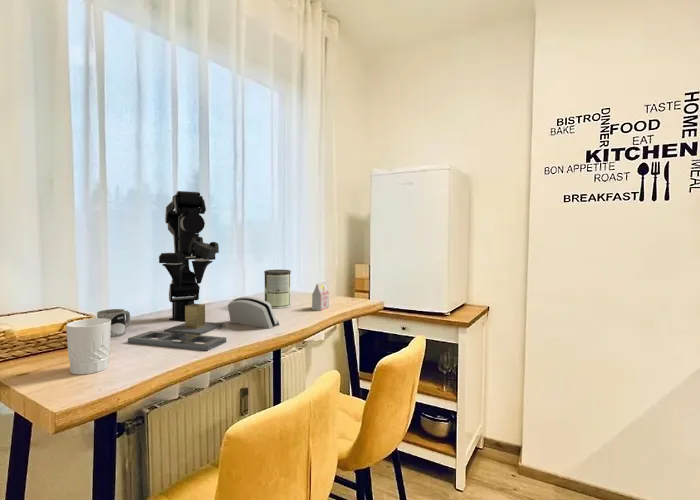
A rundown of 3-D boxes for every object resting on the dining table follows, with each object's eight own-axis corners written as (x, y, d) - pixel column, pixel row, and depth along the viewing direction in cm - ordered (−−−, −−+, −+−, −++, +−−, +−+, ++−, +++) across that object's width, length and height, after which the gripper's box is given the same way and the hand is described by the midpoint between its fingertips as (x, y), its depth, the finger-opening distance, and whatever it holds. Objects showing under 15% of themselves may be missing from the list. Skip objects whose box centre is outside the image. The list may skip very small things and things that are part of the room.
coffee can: (259, 305, 154) (259, 270, 153) (281, 302, 161) (281, 268, 160) (273, 309, 146) (273, 272, 146) (295, 306, 154) (296, 270, 153)
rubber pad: (164, 331, 113) (164, 329, 113) (191, 322, 124) (191, 320, 124) (199, 335, 110) (199, 332, 110) (224, 325, 121) (224, 323, 121)
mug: (112, 338, 106) (111, 314, 105) (91, 337, 107) (91, 313, 107) (139, 329, 115) (138, 307, 115) (119, 328, 117) (119, 306, 116)
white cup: (81, 363, 86) (80, 318, 85) (119, 362, 86) (118, 318, 86) (57, 376, 78) (56, 327, 77) (99, 375, 78) (98, 326, 78)
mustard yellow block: (185, 327, 116) (185, 305, 115) (193, 324, 119) (193, 303, 119) (196, 328, 115) (196, 306, 114) (205, 325, 118) (205, 304, 118)
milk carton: (312, 310, 147) (312, 283, 146) (320, 307, 153) (320, 281, 152) (320, 311, 145) (320, 284, 145) (328, 307, 151) (329, 282, 151)
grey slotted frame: (127, 342, 101) (127, 338, 101) (151, 335, 109) (150, 330, 109) (207, 350, 95) (207, 346, 95) (226, 342, 103) (226, 337, 103)
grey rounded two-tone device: (280, 325, 123) (274, 296, 119) (271, 333, 119) (264, 304, 115) (241, 319, 130) (233, 292, 127) (231, 326, 127) (223, 299, 123)
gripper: (191, 233, 105) (192, 291, 106) (229, 233, 123) (230, 282, 124) (157, 233, 108) (157, 289, 109) (199, 233, 126) (199, 281, 127)
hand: (189, 285), depth 117 cm, fingers open, 9 cm apart
